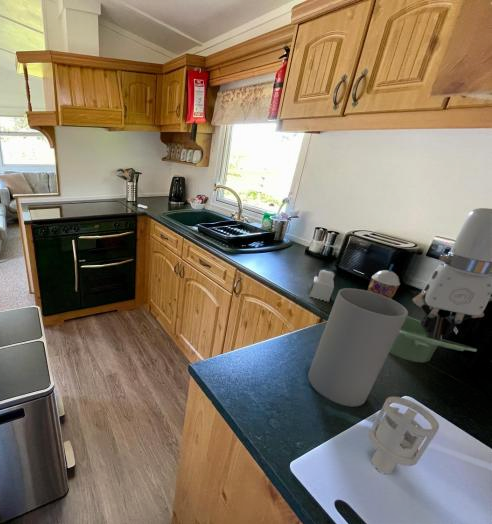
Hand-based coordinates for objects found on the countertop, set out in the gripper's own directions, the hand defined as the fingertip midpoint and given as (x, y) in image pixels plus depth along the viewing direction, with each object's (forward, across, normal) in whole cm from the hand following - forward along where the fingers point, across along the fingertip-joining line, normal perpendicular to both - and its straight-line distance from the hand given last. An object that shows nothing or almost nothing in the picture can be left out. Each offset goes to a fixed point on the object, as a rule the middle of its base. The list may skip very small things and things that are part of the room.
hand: (434, 331), depth 72 cm
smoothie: (+16, 0, +40) cm, 43 cm away
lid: (+2, 0, -1) cm, 2 cm away
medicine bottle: (+16, -18, +43) cm, 49 cm away
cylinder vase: (+15, -20, -14) cm, 29 cm away
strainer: (+15, -15, -33) cm, 39 cm away
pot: (+15, +2, +16) cm, 22 cm away
